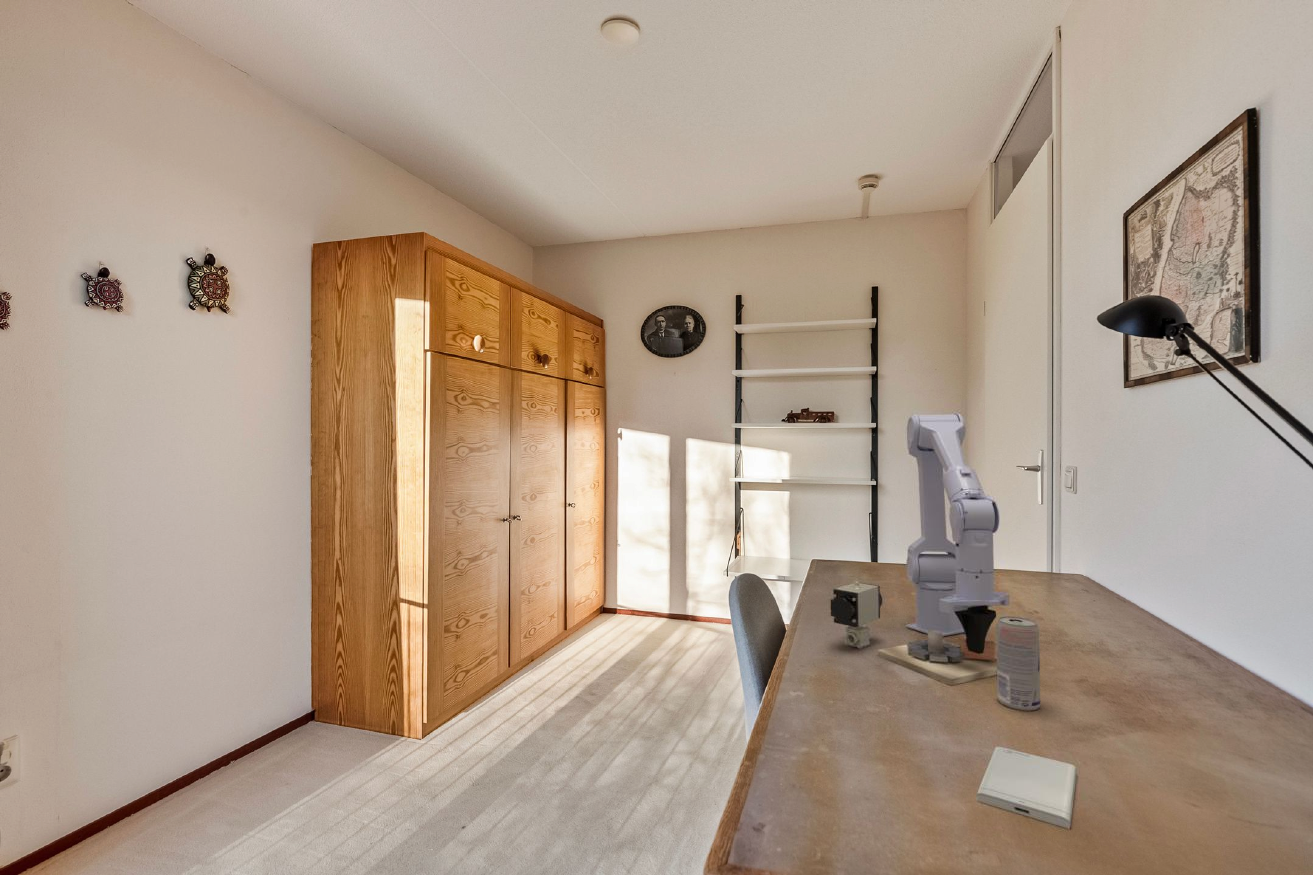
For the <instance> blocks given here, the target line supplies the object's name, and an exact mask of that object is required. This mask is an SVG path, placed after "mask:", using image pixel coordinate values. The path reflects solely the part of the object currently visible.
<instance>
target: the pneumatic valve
mask: <svg viewBox="0 0 1313 875" xmlns="http://www.w3.org/2000/svg"><path fill="white" fill-rule="evenodd" d="M880 590H881V587H880V585H878V584H877V585H876V584H871V583H865V582H860V581H857V580H855V581H854V582H853V583H850V584H847V585H845V584H843V585H842V586H841V585H840V586H839V587H837V588H834V589H833V596H832V598H831V599H830V607H829V608H830V617H833V623H834V624H839V625H844V626H845V627H844V632H845V636H844V640H845V641H844V645H845V646H847V647H849V646H852V647H855V648H856V647H857V648H858V649H859V650H861V649H863V648H866V647H867V646H869V645H870V644H871V642H870V636H871V635H870V634H871V633H870V631H871V628H870V627H869V626H865V627H864V625H868V624H869V623H871V622H874V621H877V620H879V619H881V606H882V604H883V596H882V594H881V591H880Z"/></svg>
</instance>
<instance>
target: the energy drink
mask: <svg viewBox="0 0 1313 875" xmlns="http://www.w3.org/2000/svg"><path fill="white" fill-rule="evenodd" d="M995 627H996V658H997V675H996V676H997V678H996V681H997V682H996V683H997V699H998V701H999V702H1000V703H1001V704H1002V705H1003V706H1005V707H1008V708H1009V709H1013V710H1014V709H1015V710H1019V711H1023V712H1024V711H1025V712H1027V711H1028V712H1031V711H1037V710H1038V709H1039V708H1040V707H1041V669H1040V666H1041V664H1040V661H1041V660H1040V657H1041V656H1040V628H1039V626H1038V622H1037V621H1036V620H1033V619H1031V618H1026V617H1021V616H1015V615H1014V616H1013V615H1006V616H1003V615H1002V616H999V617H998V618H997V622H996V626H995Z"/></svg>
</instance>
